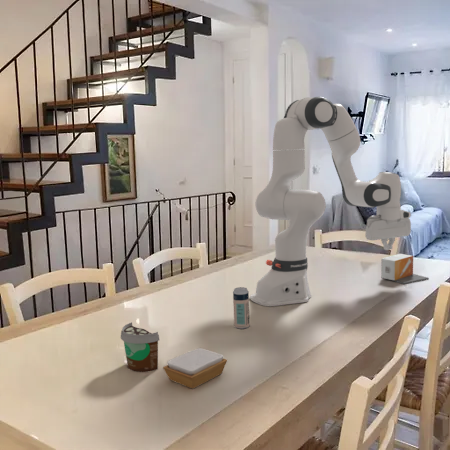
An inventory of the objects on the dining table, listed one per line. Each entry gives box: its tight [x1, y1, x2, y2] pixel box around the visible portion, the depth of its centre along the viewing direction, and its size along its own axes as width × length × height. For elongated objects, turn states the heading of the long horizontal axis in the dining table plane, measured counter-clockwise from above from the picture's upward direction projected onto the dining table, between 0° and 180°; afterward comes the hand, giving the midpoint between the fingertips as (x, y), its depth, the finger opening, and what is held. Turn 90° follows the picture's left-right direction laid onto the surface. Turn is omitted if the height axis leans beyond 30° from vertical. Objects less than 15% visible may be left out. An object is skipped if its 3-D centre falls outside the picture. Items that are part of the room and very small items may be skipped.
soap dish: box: [162, 347, 228, 389], centre depth 125 cm, size 12×10×5 cm
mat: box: [383, 273, 430, 285], centre depth 207 cm, size 13×12×1 cm
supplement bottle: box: [232, 286, 250, 330], centre depth 157 cm, size 5×5×12 cm
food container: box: [120, 322, 160, 373], centre depth 131 cm, size 12×6×10 cm, turn 45°
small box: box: [380, 253, 414, 281], centre depth 208 cm, size 8×6×13 cm
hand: (387, 249), depth 201 cm, fingers closed
